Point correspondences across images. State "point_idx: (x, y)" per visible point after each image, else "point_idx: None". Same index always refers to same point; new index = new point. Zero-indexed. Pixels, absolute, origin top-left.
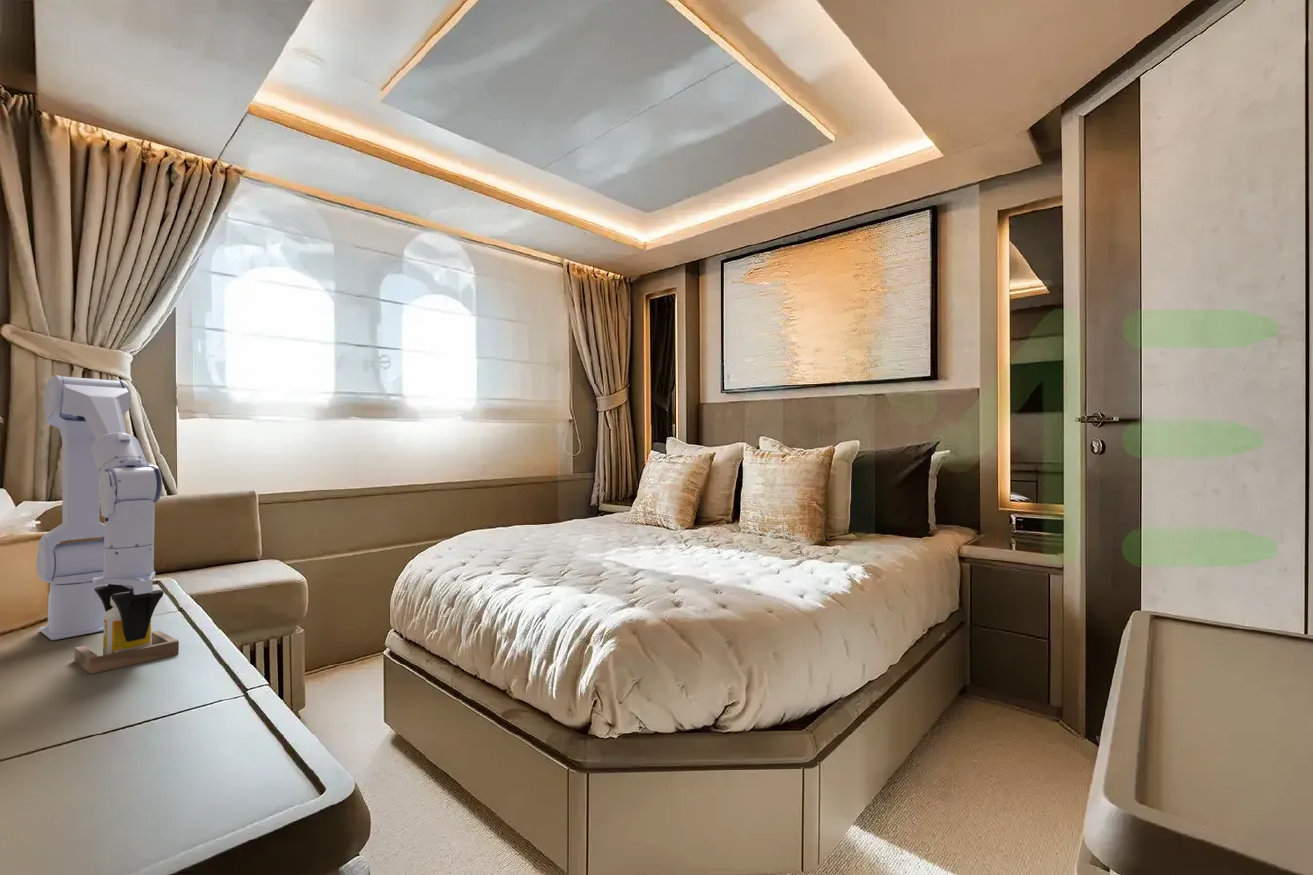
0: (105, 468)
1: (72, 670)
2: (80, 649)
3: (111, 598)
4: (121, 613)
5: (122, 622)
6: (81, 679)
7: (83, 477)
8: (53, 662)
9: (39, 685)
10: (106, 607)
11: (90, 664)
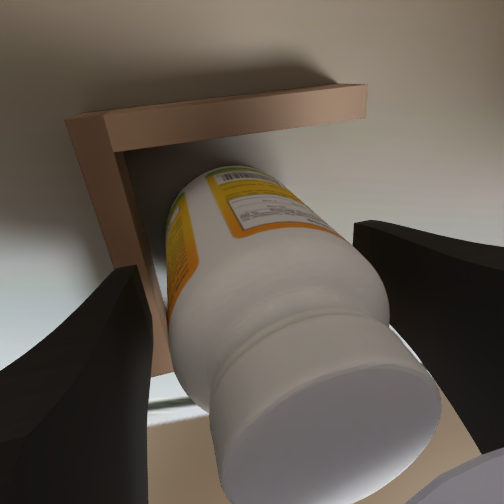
0: None
1: (201, 62)
2: (310, 100)
3: (318, 357)
4: (22, 362)
5: (95, 311)
6: (18, 76)
7: None
8: (386, 16)
9: None
10: (450, 258)
11: (76, 116)
